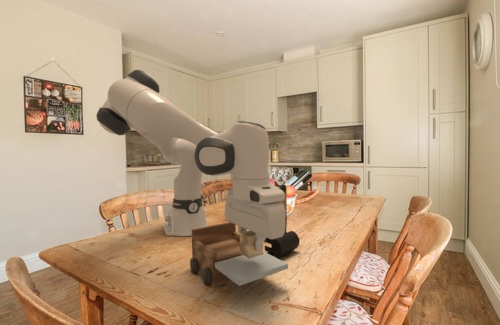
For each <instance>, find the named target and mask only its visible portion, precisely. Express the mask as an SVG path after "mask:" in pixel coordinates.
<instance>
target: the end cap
mask: <svg viewBox="0 0 500 325" xmlns="http://www.w3.org/2000/svg"><path fill="white" fill-rule="evenodd" d="M264 243H265V244H270V246H268V245H264V252H266V253H267V254H269V255H271V256H273V257H275V258H278V259H279V258H280V257H283V256H284V255H287V254H289V253H291V252H293V251H294V250H296V249H297V248H298V247H299V246H300V238H299V236H298V234H297V232H295V231H294V230H290V231H288V232H287V231H286V232H285V233H284V235H283V236H282V237H280V238H276V239H269V238H267V237H266V239H265V241H264Z"/></svg>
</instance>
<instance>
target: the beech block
mask: <svg viewBox="0 0 500 325" xmlns="http://www.w3.org/2000/svg"><path fill="white" fill-rule="evenodd" d="M256 240H257V237H256V233H255V232H252V231H250V230H247V231H246V232H241V233H240V253H241V254H242V255H244V256H246V257H248V258H249V259H250V258H253V257H256V256H260V255H263V252H264V249H263V250H262V251H260V252H258V251H256V250H254V245H253V243H255V242H256Z"/></svg>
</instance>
